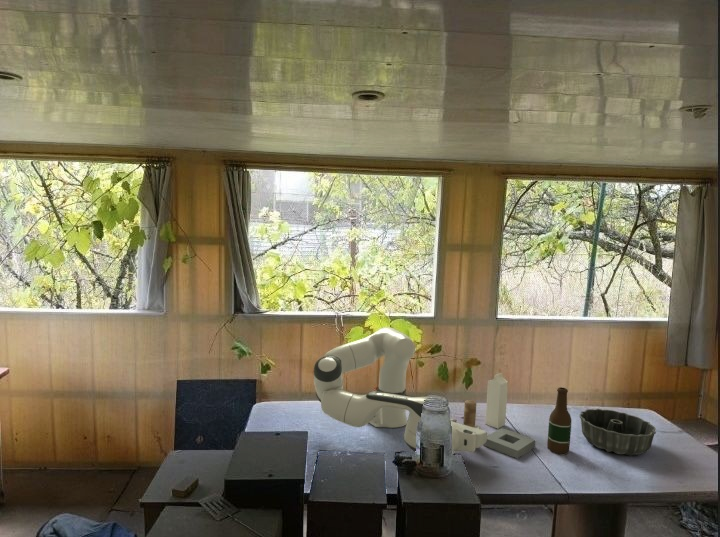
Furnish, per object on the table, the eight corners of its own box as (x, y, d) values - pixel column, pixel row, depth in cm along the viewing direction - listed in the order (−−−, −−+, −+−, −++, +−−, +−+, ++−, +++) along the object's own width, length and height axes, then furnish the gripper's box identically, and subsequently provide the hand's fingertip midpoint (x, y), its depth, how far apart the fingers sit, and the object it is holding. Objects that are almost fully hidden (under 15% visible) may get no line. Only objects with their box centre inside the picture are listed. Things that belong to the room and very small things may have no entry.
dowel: (460, 442, 184) (462, 402, 182) (466, 439, 187) (468, 399, 185) (469, 446, 180) (472, 405, 179) (476, 442, 184) (478, 402, 182)
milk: (505, 425, 202) (509, 374, 200) (497, 428, 198) (501, 377, 196) (492, 420, 206) (496, 370, 204) (484, 424, 202) (488, 373, 200)
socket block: (483, 445, 182) (483, 437, 181) (501, 435, 192) (501, 427, 191) (517, 458, 172) (517, 450, 172) (534, 447, 182) (535, 439, 181)
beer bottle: (559, 456, 175) (564, 393, 173) (542, 447, 182) (546, 386, 180) (573, 452, 178) (578, 390, 176) (556, 444, 185) (561, 384, 183)
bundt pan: (607, 427, 204) (609, 404, 203) (669, 454, 180) (672, 429, 179) (562, 436, 192) (564, 412, 192) (623, 467, 169) (625, 440, 168)
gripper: (424, 436, 174) (440, 425, 185) (477, 453, 162) (491, 440, 174) (425, 420, 174) (441, 409, 185) (479, 436, 162) (493, 423, 173)
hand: (466, 424), depth 179 cm, fingers open, 8 cm apart
